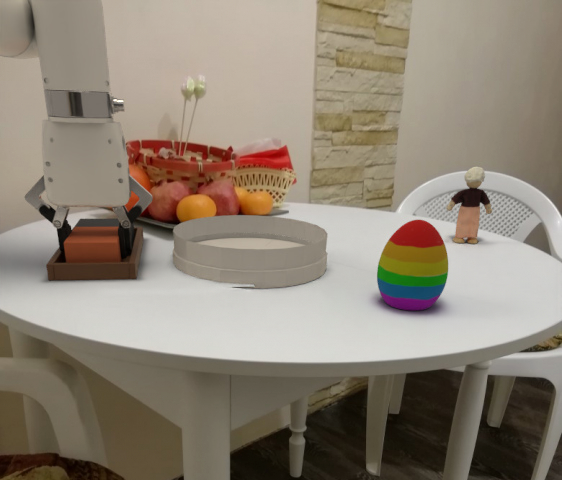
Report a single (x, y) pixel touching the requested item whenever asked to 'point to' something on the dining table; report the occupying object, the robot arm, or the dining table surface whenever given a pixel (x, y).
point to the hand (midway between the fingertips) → (97, 255)
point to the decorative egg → (413, 267)
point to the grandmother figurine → (470, 206)
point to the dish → (251, 250)
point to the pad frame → (97, 265)
